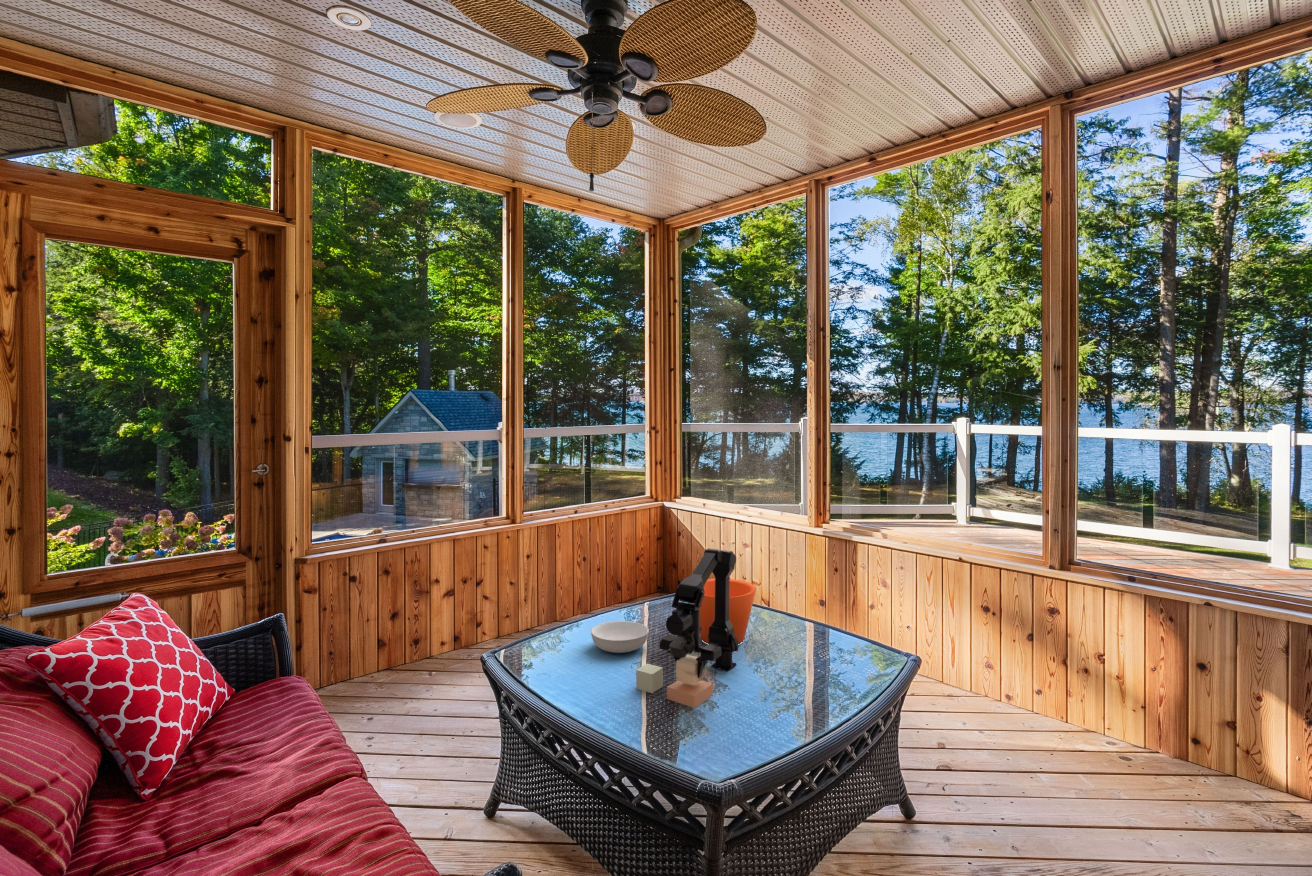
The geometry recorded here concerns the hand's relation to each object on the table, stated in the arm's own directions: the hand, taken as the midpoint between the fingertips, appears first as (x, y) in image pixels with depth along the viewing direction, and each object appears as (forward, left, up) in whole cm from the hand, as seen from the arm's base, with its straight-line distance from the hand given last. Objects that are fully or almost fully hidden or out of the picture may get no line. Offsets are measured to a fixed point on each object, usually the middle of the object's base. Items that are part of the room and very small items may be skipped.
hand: (690, 675), depth 195 cm
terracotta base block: (0, 0, -7) cm, 7 cm away
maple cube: (0, 0, -1) cm, 1 cm away
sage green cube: (+1, -14, -7) cm, 16 cm away
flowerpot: (-48, -14, -7) cm, 50 cm away
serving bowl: (-20, -41, -7) cm, 46 cm away
